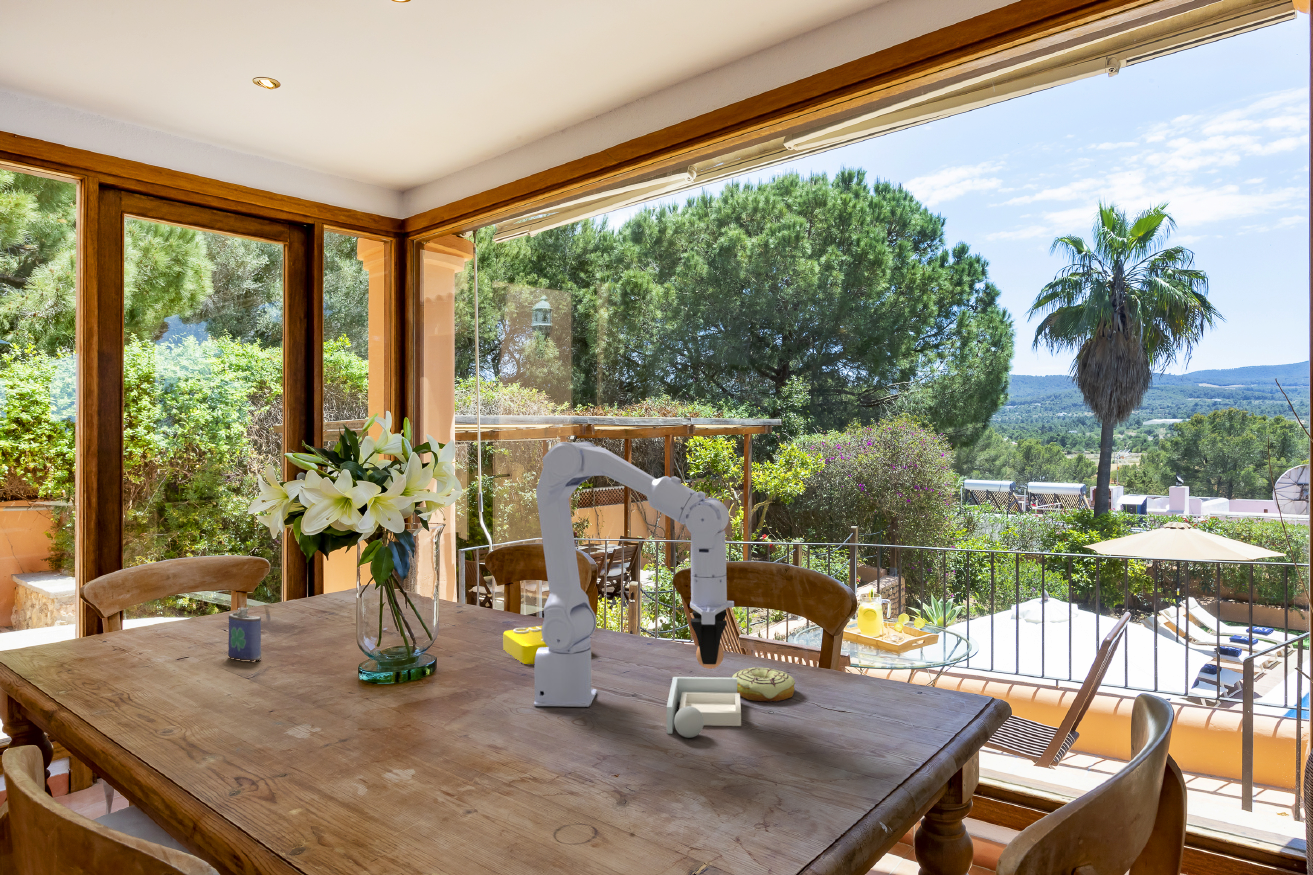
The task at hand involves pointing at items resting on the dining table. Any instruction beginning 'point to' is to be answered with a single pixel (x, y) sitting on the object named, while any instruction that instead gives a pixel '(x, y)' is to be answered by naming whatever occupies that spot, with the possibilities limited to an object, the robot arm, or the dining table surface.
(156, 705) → the dining table surface
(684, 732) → the grey ball
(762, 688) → the decorated donut
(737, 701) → the ceramic dish
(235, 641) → the flask
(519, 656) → the element tile
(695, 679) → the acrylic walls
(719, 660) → the terracotta ball
